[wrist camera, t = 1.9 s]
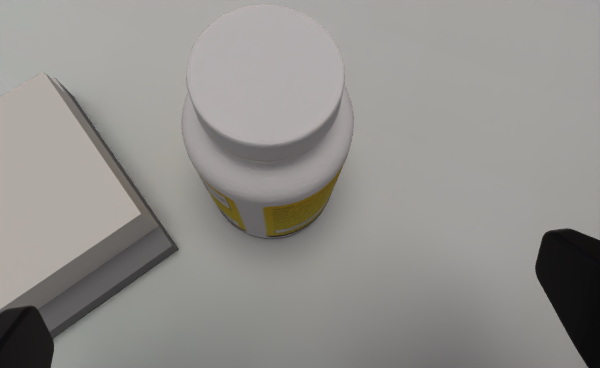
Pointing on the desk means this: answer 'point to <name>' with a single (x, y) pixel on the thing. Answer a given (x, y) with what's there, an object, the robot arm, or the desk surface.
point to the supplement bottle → (267, 117)
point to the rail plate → (66, 209)
